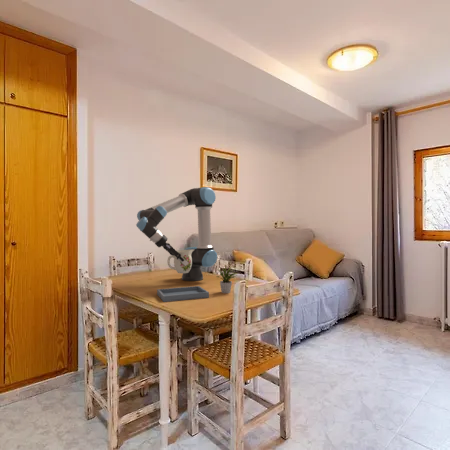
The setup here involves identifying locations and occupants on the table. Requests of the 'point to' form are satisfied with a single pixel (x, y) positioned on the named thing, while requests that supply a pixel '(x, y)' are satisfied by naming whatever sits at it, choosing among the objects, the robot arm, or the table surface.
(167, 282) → the table surface
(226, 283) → the house plant
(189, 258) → the pitcher
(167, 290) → the tray
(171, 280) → the table surface
